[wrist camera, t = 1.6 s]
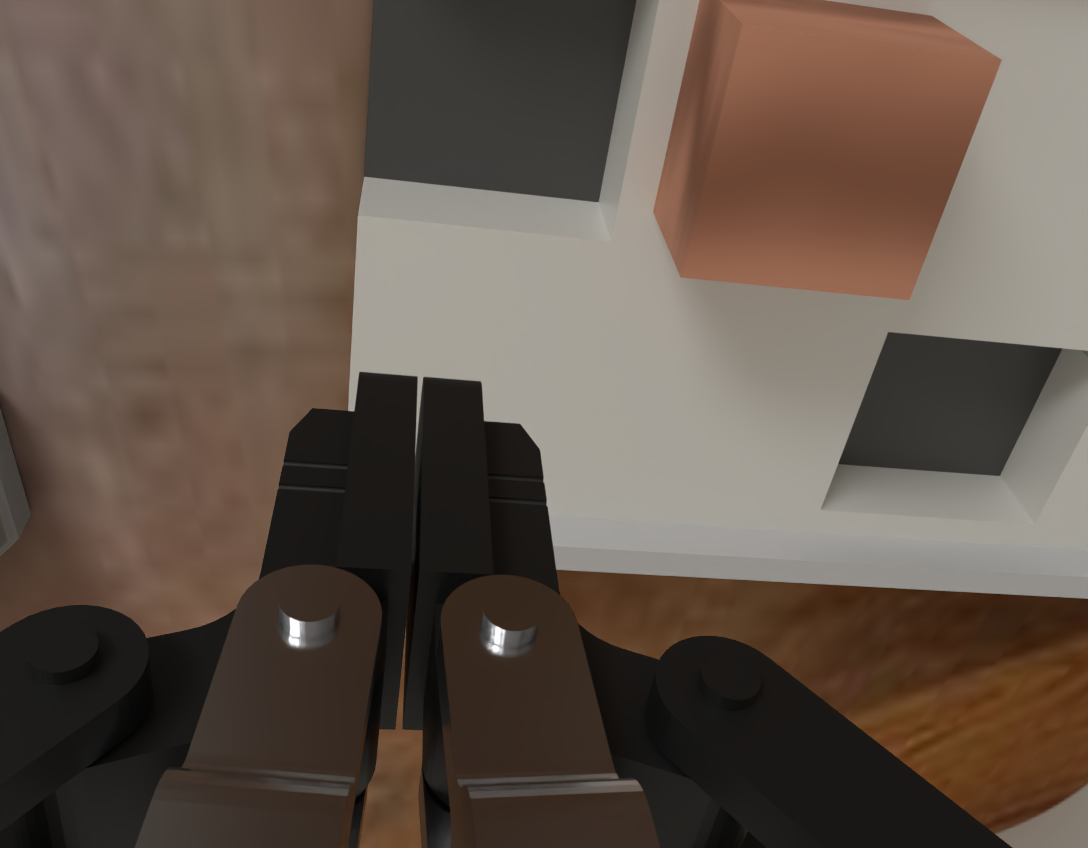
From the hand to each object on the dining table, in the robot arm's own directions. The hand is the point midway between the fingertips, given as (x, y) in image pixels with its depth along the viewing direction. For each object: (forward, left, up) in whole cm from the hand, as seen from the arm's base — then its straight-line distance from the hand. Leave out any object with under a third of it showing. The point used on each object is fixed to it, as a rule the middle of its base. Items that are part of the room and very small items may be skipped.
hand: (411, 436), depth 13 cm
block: (0, +10, -16) cm, 18 cm away
